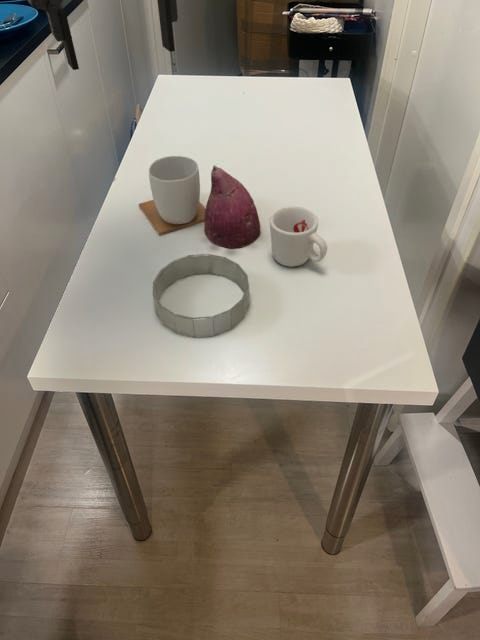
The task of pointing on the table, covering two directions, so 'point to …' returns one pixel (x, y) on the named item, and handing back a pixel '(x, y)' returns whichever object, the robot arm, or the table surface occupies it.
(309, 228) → the cup
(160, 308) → the ring
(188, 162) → the mug
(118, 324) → the table surface
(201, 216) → the mat
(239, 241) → the vegetable
